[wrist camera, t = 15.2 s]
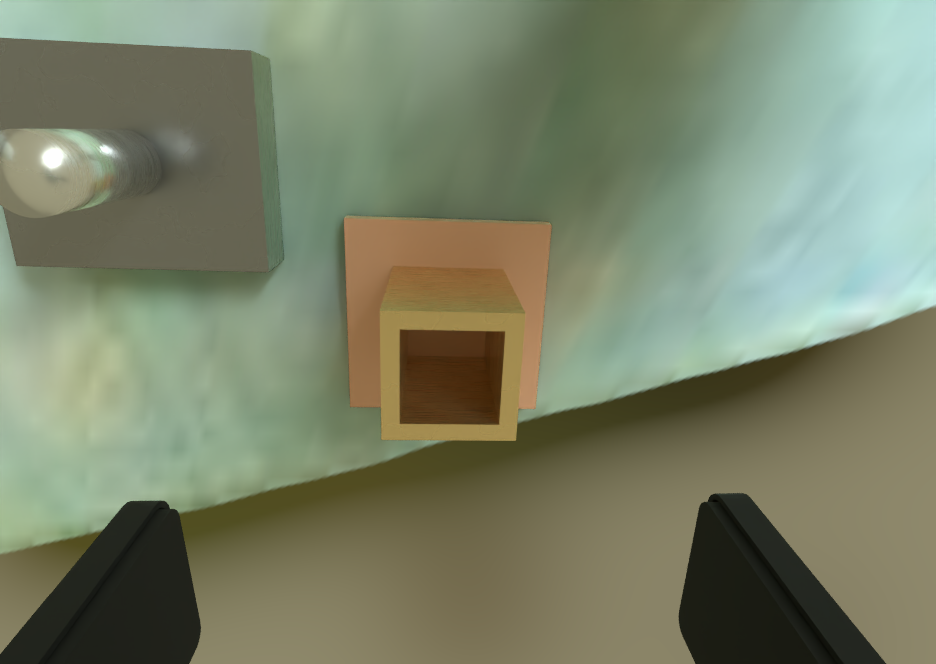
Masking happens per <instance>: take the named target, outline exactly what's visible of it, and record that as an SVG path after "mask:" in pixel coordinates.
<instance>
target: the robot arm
mask: <svg viewBox="0 0 936 664" xmlns="http://www.w3.org/2000/svg"><path fill="white" fill-rule="evenodd" d="M679 624H680V629H681V633H682V635H683V638H684V640H685V642H686V644H687V646H688V649H689V651H690V653H691V655H692V657H693V659H694V661H695V664H886V663H885V662H884V660H883V659H882V658H881V657H880V656H879V654H878V653H877V652H876V651H875V650H874V648H873V647H872V646H871V645H870V643H869V642H868V641H867V640H866V638H865V637H864V636H863V635H862V634H861V632H860V631H859V630H858V629H857V627H856V626H855V625H854V624H853V623H852V622H851V620H850V619H849V618H848V616H847V615H846V614H845V613H844V612H843V610H842V609H841V608H840V607H839V605H838V604H837V603H836V602H835V601H834V599H833V598H832V597H831V596H830V594H829V593H828V592H827V591H826V590H825V588H824V587H823V586H822V585H821V584H820V582H819V581H818V580H817V579H816V577H815V576H814V575H813V574H812V572H811V571H810V570H809V569H808V568H807V566H806V565H805V564H804V563H803V561H802V560H801V559H800V558H799V557H798V555H797V554H796V553H795V552H794V550H793V549H792V548H791V547H790V546H789V544H788V543H787V542H786V541H785V539H784V538H783V537H782V536H781V535H780V534H779V532H778V531H777V530H776V528H775V527H774V526H773V525H772V524H771V522H770V521H769V520H768V519H767V517H766V516H765V515H764V514H763V513H762V511H761V510H760V509H759V508H758V506H757V505H756V504H755V503H754V502H753V500H752V499H751V498H750V497H749V496H748V495H747V494H743V493H733V494H732V493H731V494H730V493H728V494H713V495H711V496H710V497H709V500H708V502H703V503H701V505H700V507H699V512H698V517H697V522H696V527H695V532H694V537H693V543H692V548H691V553H690V558H689V563H688V568H687V573H686V579H685V584H684V589H683V594H682V599H681V605H680V610H679ZM200 632H201V626H200V618H199V613H198V608H197V603H196V598H195V593H194V588H193V583H192V578H191V573H190V568H189V563H188V557H187V552H186V547H185V542H184V537H183V532H182V527H181V522H180V517H179V513H178V511H177V510H175V509H170V508H169V505H168V504H167V502H165V501H130V502H127V503H126V504H125V505H124V506H123V507H122V508H121V509H120V511H119V512H118V513H117V514H116V515H115V517H114V518H113V519H112V520H111V521H110V523H109V524H108V525H107V526H106V527H105V529H104V530H103V531H102V532H101V534H100V535H99V536H98V537H97V538H96V540H95V541H94V542H93V543H92V544H91V546H90V547H89V548H88V549H87V551H86V552H85V553H84V554H83V555H82V557H81V558H80V559H79V560H78V561H77V563H76V564H75V565H74V566H73V567H72V569H71V570H70V571H69V572H68V573H67V575H66V576H65V577H64V578H63V580H62V581H61V582H60V583H59V584H58V586H57V587H56V588H55V589H54V591H53V592H52V593H51V594H50V595H49V596H48V597H47V598H46V600H45V601H44V602H43V603H42V604H41V606H40V607H39V608H38V609H37V611H36V612H35V613H34V614H33V615H32V616H31V618H30V619H29V620H28V621H27V623H26V624H25V625H24V627H22V629H21V630H20V631H19V632H18V634H17V635H16V636H15V637H14V638H13V640H12V641H11V642H10V643H9V645H8V646H7V647H6V648H5V649H4V650H3V652H2V653H1V654H0V664H189V663H190V661H191V659H192V656H193V654H194V652H195V650H196V648H197V645H198V642H199V638H200Z"/></svg>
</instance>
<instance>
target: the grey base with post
mask: <svg viewBox="0 0 936 664" xmlns="http://www.w3.org/2000/svg"><path fill="white" fill-rule="evenodd" d="M0 205H2V206H3V209H4V213H5V218H6V222H7V226H8V230H9V235H10V239H11V243H12V248H13V252H14V256H15V261H16V265H17V266H42V267H82V268H122V269H161V270H201V271H241V272H270V271H271V270H272V269H273V268H274V267H275V266H277V265H278V264H279V263H280V262H281V261H282V260H284V255H283V241H282V227H281V212H280V198H279V184H278V170H277V155H276V141H275V127H274V112H273V98H272V84H271V70H270V59H269V58H267V57H265V56H262V55H260V54H258V53H255V52H253V51H248V50H228V49H209V48H189V47H169V46H149V45H130V44H110V43H90V42H70V41H51V40H31V39H11V38H0Z"/></svg>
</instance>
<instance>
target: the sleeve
mask: <svg viewBox="0 0 936 664" xmlns="http://www.w3.org/2000/svg"><path fill="white" fill-rule="evenodd" d="M525 316H526V313H525V311H524V309H523V307H522V305H521V303H520V301H519V299H518V297H517V295H516V293H515V291H514V289H513V287H512V285H511V283H510V281H509V279H508V277H507V275H506V273H505V271H504V269H484V268H446V267H409V266H393V268H392V272H391V275H390V278H389V282H388V285H387V288H386V291H385V295H384V298H383V301H382V305H381V308H380V370H381V440H488V441H490V440H491V441H492V440H494V441H516V432H517V419H518V406H519V394H520V381H521V368H522V355H523V342H524V329H525ZM408 330H457V331H486V333H485V351H484V357H464V356H408Z"/></svg>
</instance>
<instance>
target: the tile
mask: <svg viewBox="0 0 936 664" xmlns="http://www.w3.org/2000/svg"><path fill="white" fill-rule="evenodd" d="M551 228H552V225H551V224H550V223H549V222H536V221H504V220H473V219H442V218H411V217H379V216H348V215H347V216H346V217H345V218H344V235H345V265H346V295H347V325H348V355H349V386H350V407H381V370H380V308H381V305H382V301H383V298H384V295H385V291H386V288H387V285H388V282H389V278H390V275H391V272H392V268H393V266H409V267H446V268H484V269H504V271H505V273H506V275H507V277H508V279H509V281H510V283H511V285H512V287H513V289H514V291H515V293H516V295H517V297H518V299H519V301H520V303H521V305H522V307H523V309H524V311H525V313H526V316H525V329H524V342H523V355H522V368H521V381H520V394H519V406H518V409H535V408H536V397H537V386H538V374H539V363H540V352H541V341H542V329H543V318H544V307H545V296H546V284H547V273H548V262H549V251H550V240H551ZM485 333H486V331H457V330H408V356H464V357H484V351H485Z"/></svg>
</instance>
